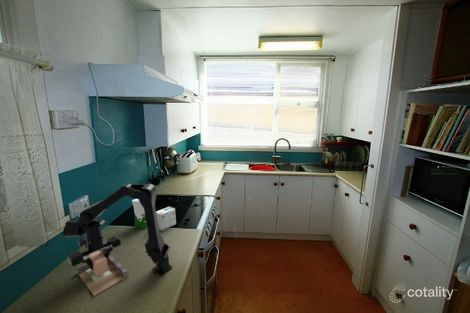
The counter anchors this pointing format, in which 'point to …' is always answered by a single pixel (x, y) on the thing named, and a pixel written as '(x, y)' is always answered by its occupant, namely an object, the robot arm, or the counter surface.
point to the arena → (102, 276)
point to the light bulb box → (166, 218)
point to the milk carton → (139, 214)
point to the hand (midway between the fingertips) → (98, 266)
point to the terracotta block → (98, 263)
